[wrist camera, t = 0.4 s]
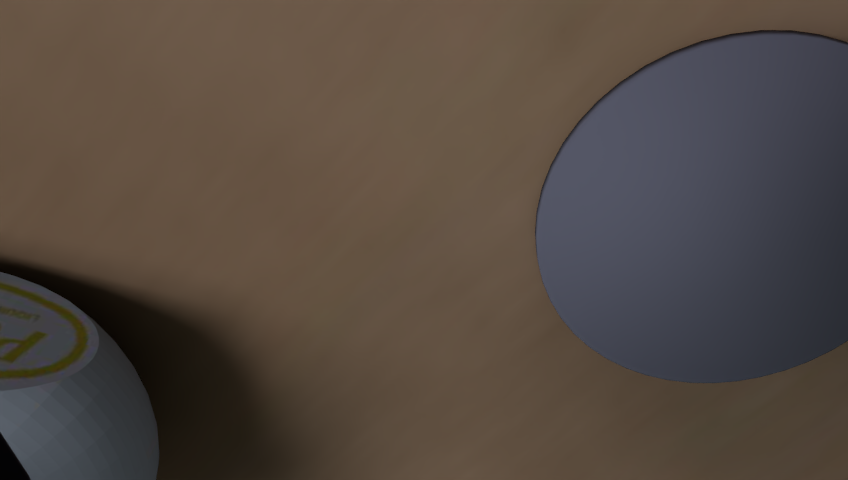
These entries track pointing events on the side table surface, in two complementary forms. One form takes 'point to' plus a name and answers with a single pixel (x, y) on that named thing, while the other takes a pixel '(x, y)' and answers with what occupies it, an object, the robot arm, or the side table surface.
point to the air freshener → (69, 392)
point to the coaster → (707, 211)
